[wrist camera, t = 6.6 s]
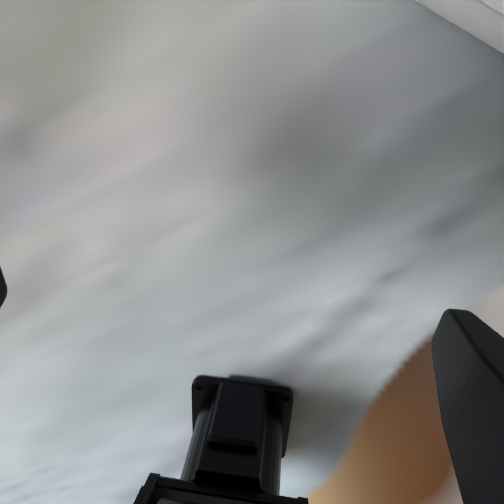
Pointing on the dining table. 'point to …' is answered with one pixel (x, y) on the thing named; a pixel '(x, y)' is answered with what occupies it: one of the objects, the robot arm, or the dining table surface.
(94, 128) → the dining table surface
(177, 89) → the dining table surface
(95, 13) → the dining table surface
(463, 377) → the robot arm
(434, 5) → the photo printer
